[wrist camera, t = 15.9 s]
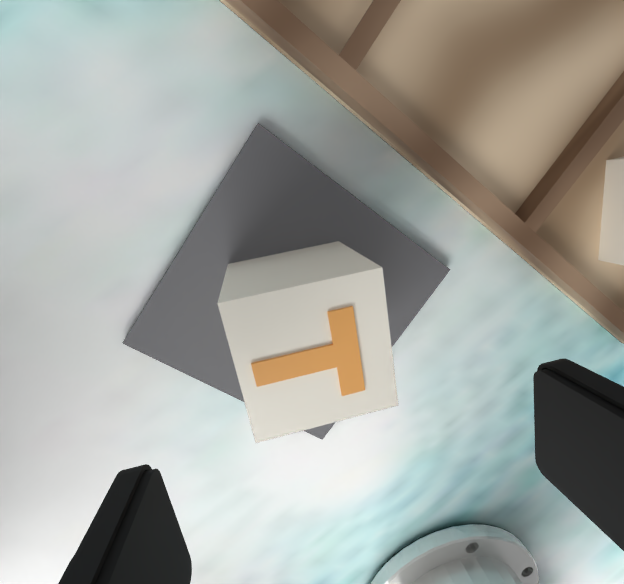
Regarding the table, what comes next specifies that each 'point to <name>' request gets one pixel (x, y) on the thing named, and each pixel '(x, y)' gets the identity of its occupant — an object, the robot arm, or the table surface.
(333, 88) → the tray board
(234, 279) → the letter block
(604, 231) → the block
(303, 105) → the table surface
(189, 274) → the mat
